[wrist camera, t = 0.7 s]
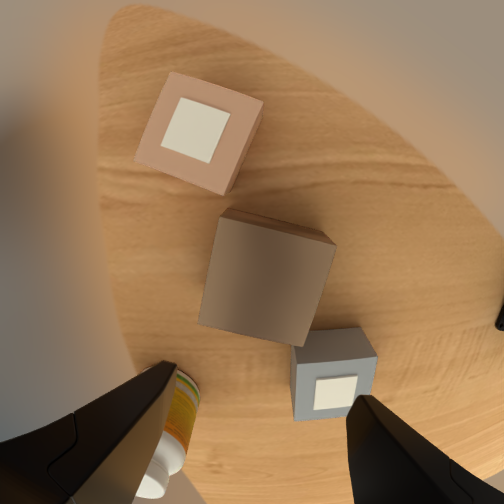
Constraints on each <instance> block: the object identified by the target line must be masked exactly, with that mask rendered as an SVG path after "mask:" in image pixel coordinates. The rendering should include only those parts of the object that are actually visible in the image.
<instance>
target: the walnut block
mask: <svg viewBox="0 0 504 504" xmlns="http://www.w3.org/2000/svg"><path fill="white" fill-rule="evenodd" d="M336 248H337V245H336V244H335V243H334V242H333V241H332V240H331V239H330V238H329V237H327V236H326V235H325V234H324V233H323V232H322V231H318V230H314V229H310V228H307V227H303V226H299V225H295V224H291V223H287V222H283V221H279V220H275V219H271V218H267V217H263V216H259V215H255V214H251V213H246V212H242V211H238V210H234V209H230V208H227V210H226V211H225V212H224V213H223V214H222V215H221V216H220V217H219V221H218V226H217V230H216V235H215V239H214V244H213V249H212V254H211V258H210V263H209V268H208V273H207V278H206V283H205V288H204V293H203V298H202V303H201V308H200V313H199V319H198V324H199V325H203V326H207V327H211V328H215V329H220V330H224V331H228V332H232V333H237V334H241V335H245V336H250V337H255V338H259V339H264V340H269V341H274V342H279V343H284V344H289V345H294V346H299V347H303V345H304V343H305V340H306V337H307V335H308V332H309V329H310V326H311V324H312V321H313V318H314V315H315V312H316V309H317V307H318V304H319V301H320V298H321V295H322V292H323V289H324V286H325V283H326V280H327V277H328V274H329V270H330V267H331V264H332V261H333V258H334V255H335V251H336Z"/></svg>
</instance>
